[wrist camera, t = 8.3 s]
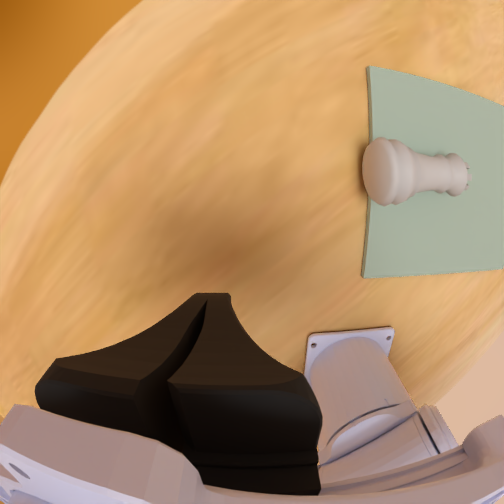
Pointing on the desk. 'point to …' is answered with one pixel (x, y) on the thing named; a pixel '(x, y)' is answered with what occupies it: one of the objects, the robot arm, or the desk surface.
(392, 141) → the rook chess piece
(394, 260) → the mat
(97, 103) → the desk surface
